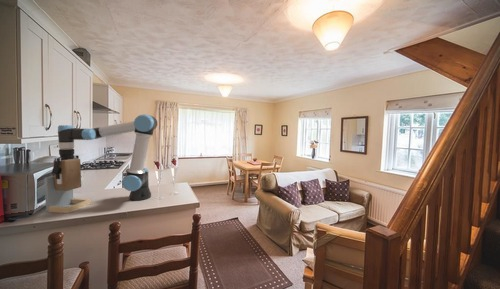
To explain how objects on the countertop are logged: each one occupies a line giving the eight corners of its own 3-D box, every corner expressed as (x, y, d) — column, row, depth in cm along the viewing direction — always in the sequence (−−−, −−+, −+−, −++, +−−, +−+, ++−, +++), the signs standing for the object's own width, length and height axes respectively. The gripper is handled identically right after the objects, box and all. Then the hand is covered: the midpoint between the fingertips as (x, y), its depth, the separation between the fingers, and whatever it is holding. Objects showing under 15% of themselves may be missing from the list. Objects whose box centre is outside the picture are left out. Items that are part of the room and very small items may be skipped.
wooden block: (66, 191, 129) (64, 160, 127) (54, 190, 131) (52, 159, 129) (82, 187, 139) (80, 158, 137) (70, 186, 141) (69, 157, 139)
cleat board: (90, 203, 143) (89, 173, 141) (67, 213, 127) (65, 178, 125) (71, 202, 145) (69, 172, 143) (46, 211, 129) (44, 177, 127)
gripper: (78, 147, 144) (79, 177, 146) (42, 150, 122) (44, 186, 123) (87, 147, 144) (88, 177, 145) (52, 150, 121) (54, 186, 123)
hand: (68, 181), depth 134 cm, fingers closed on wooden block, 10 cm apart
